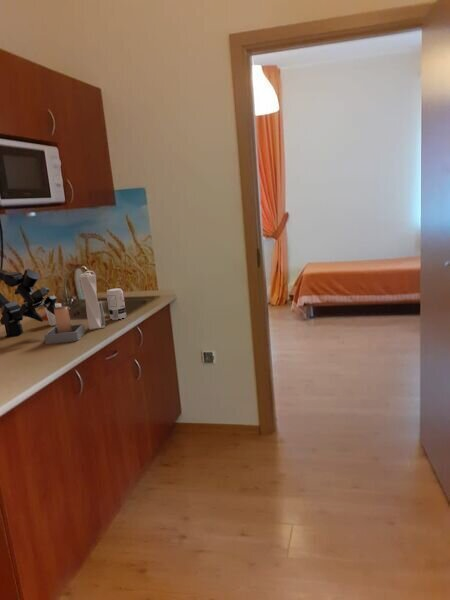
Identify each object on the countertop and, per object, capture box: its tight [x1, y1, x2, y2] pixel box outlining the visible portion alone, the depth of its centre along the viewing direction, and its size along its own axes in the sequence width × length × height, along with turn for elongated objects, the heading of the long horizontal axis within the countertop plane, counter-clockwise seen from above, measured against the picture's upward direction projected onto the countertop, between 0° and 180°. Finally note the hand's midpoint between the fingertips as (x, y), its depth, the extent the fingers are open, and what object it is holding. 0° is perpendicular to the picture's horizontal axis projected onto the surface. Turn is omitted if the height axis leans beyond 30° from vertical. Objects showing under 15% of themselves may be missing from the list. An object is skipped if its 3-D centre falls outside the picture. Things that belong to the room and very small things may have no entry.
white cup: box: [44, 302, 62, 327], centre depth 243 cm, size 8×8×10 cm
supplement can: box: [106, 287, 127, 321], centre depth 241 cm, size 8×8×15 cm
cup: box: [54, 305, 72, 333], centre depth 213 cm, size 6×6×13 cm
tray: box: [44, 323, 86, 345], centre depth 214 cm, size 14×14×4 cm
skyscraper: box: [79, 270, 107, 331], centre depth 225 cm, size 8×8×28 cm
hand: (50, 318), depth 216 cm, fingers open, 9 cm apart
